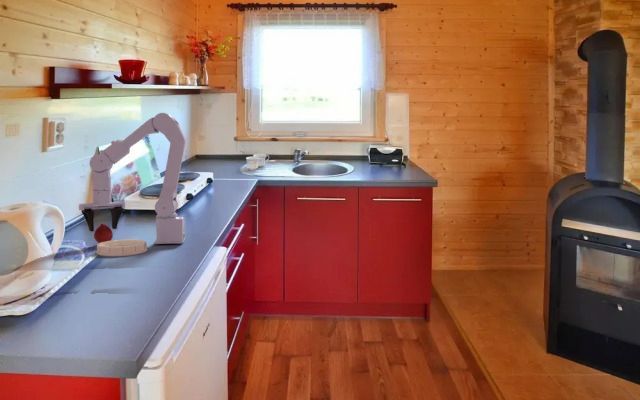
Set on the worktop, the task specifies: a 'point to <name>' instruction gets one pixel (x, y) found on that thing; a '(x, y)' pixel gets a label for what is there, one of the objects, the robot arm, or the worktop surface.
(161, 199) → the robot arm
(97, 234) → the onion
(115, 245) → the dish
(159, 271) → the worktop surface
